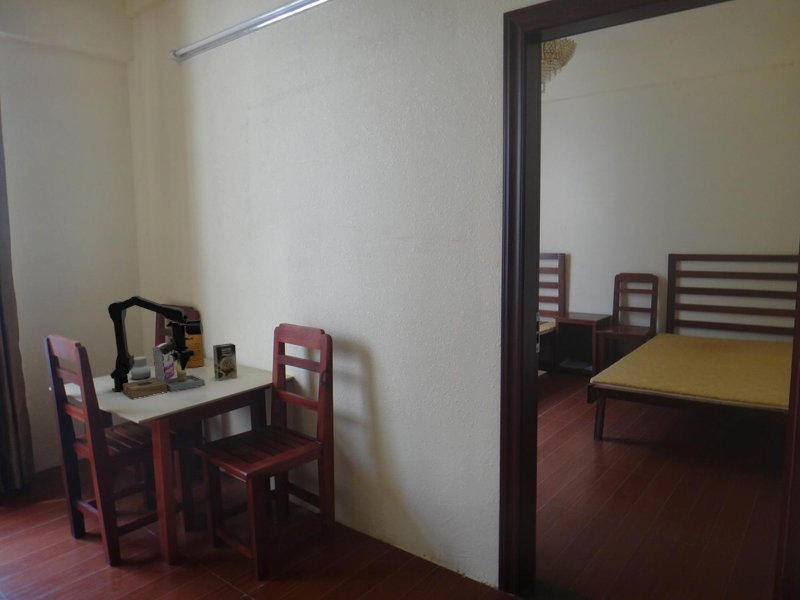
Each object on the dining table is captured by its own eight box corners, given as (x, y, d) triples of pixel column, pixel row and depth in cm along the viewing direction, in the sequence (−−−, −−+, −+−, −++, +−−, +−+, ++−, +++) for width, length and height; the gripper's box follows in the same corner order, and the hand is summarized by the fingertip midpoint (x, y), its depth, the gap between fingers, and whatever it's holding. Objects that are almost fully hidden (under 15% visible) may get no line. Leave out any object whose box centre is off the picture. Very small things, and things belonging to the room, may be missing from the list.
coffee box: (218, 381, 259) (216, 347, 257) (214, 378, 264) (212, 345, 262) (237, 377, 264) (235, 344, 262) (233, 375, 269) (231, 342, 267)
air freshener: (151, 379, 266) (149, 358, 264) (132, 381, 262) (130, 361, 261) (149, 374, 275) (147, 354, 274) (131, 376, 271) (129, 356, 270)
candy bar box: (164, 375, 272) (162, 342, 270) (174, 375, 272) (172, 342, 270) (154, 381, 261) (152, 347, 259) (165, 381, 261) (162, 347, 259)
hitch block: (123, 392, 243) (122, 383, 242) (156, 386, 252) (155, 377, 252) (133, 399, 233) (132, 390, 232) (167, 392, 242) (166, 383, 241)
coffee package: (181, 364, 294) (178, 324, 291) (205, 363, 296) (203, 322, 293) (178, 369, 284) (174, 327, 281) (203, 367, 287) (200, 325, 284)
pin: (176, 381, 252) (174, 359, 251) (184, 379, 255) (183, 358, 253) (179, 382, 249) (177, 361, 248) (188, 381, 252) (186, 359, 250)
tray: (160, 386, 252) (160, 380, 252) (192, 379, 262) (192, 374, 262) (171, 392, 242) (170, 386, 242) (204, 385, 252) (204, 379, 252)
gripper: (153, 335, 251) (156, 369, 253) (167, 341, 237) (170, 376, 239) (178, 332, 258) (180, 364, 260) (193, 337, 244) (195, 371, 246)
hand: (181, 369), depth 251 cm, fingers closed on pin, 4 cm apart
